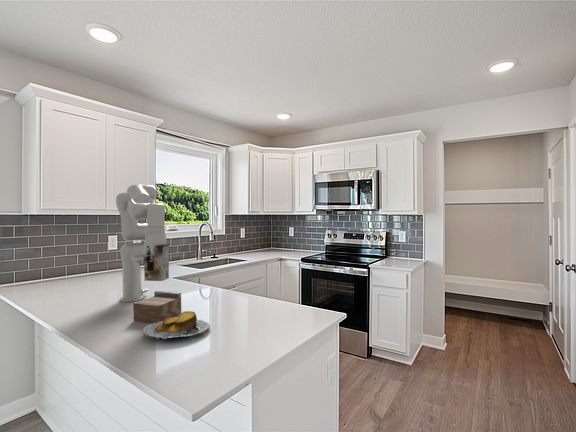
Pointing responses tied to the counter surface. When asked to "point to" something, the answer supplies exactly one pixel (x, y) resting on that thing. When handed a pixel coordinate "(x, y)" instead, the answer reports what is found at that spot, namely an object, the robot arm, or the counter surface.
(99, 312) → the counter surface
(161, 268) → the coffee box
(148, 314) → the display stand
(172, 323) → the food on plate
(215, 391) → the counter surface
